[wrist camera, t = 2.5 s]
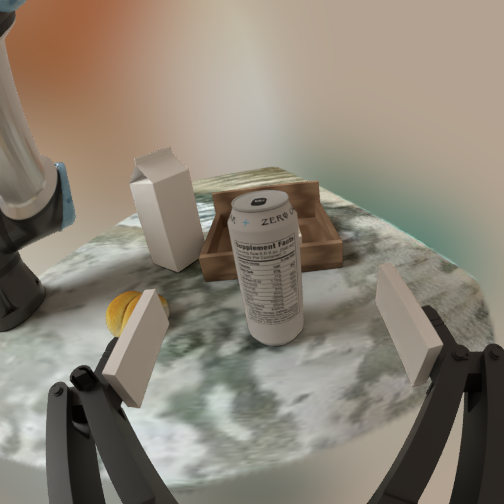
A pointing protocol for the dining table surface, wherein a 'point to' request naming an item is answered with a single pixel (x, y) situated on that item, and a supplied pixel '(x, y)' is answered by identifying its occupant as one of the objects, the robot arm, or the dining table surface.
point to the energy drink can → (268, 264)
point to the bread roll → (125, 311)
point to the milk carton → (167, 209)
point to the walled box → (309, 225)
